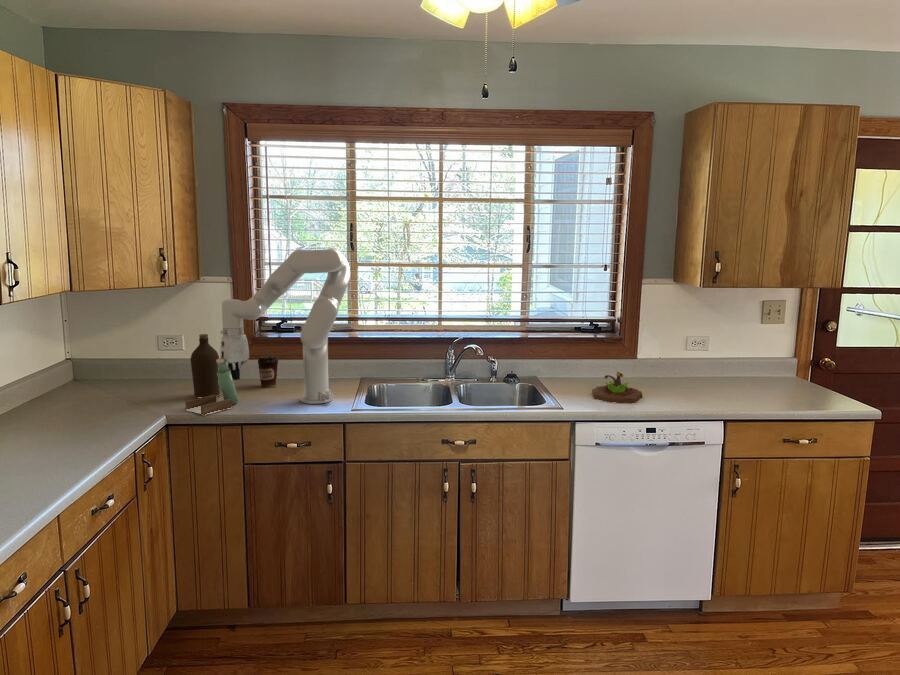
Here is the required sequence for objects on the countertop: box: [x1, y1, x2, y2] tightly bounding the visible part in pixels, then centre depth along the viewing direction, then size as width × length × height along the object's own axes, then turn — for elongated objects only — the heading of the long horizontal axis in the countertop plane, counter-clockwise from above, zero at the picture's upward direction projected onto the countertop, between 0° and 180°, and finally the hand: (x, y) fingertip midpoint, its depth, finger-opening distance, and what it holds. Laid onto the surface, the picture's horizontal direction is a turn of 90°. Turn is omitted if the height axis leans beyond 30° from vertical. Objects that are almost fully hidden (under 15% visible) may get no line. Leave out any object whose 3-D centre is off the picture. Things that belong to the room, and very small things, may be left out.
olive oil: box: [190, 333, 221, 397], centre depth 254 cm, size 11×11×25 cm
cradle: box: [184, 395, 233, 415], centre depth 238 cm, size 11×12×4 cm
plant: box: [591, 371, 643, 404], centre depth 260 cm, size 20×20×11 cm
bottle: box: [216, 357, 239, 405], centre depth 243 cm, size 5×5×18 cm
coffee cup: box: [257, 354, 279, 388], centre depth 272 cm, size 9×8×13 cm
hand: (235, 379), depth 246 cm, fingers closed
